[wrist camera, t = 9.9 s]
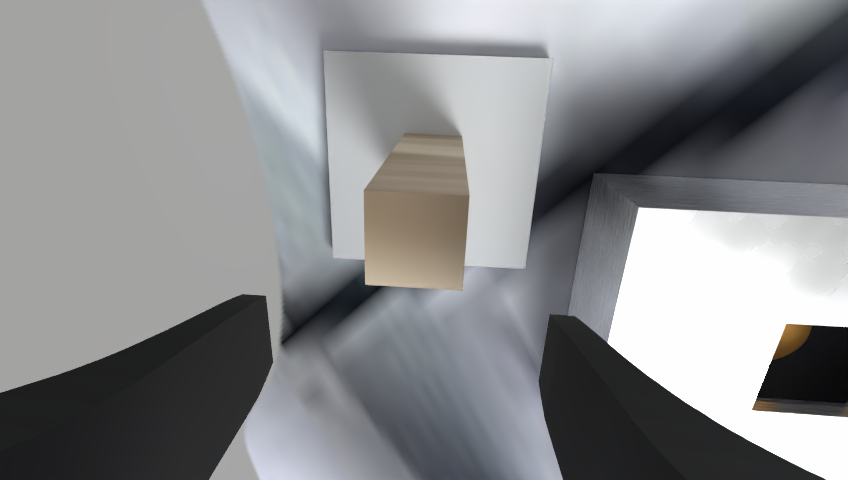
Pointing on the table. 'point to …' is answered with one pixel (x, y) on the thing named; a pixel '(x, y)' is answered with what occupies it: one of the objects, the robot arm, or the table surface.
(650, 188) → the guard box
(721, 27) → the table surface
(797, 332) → the button
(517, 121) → the pad
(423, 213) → the long tan rectangular block
